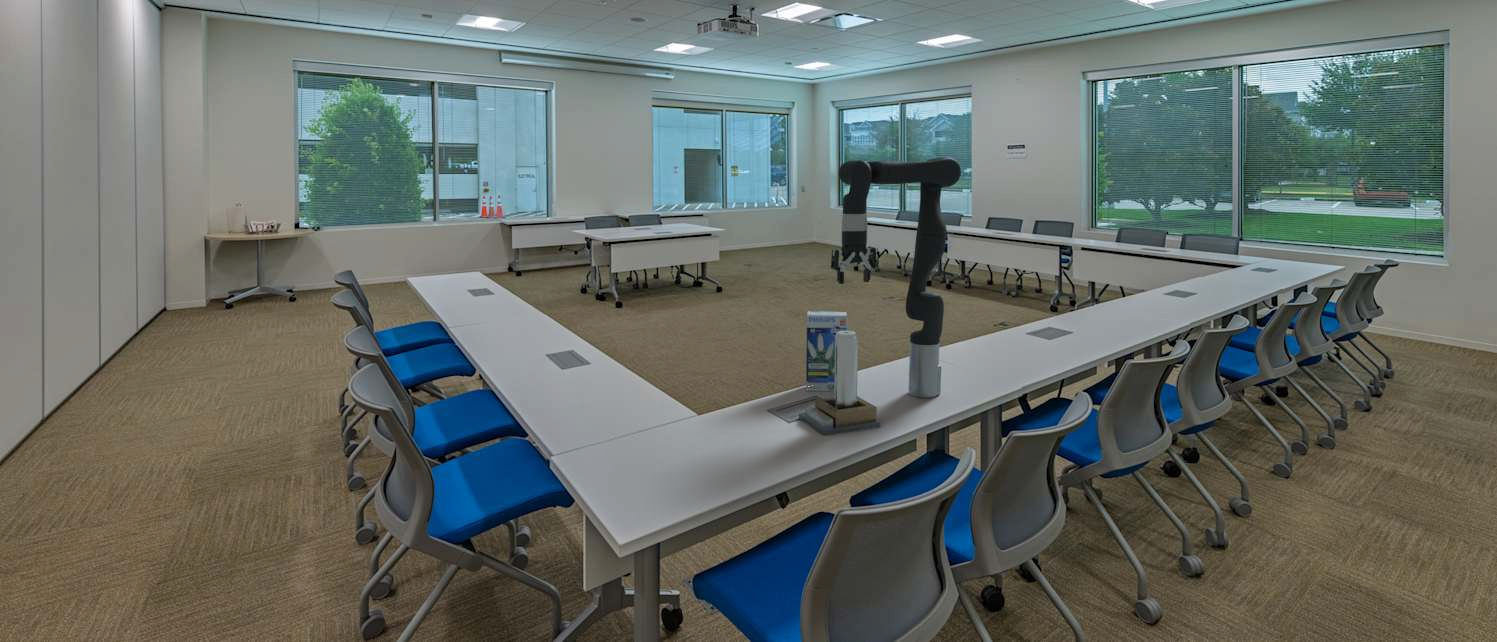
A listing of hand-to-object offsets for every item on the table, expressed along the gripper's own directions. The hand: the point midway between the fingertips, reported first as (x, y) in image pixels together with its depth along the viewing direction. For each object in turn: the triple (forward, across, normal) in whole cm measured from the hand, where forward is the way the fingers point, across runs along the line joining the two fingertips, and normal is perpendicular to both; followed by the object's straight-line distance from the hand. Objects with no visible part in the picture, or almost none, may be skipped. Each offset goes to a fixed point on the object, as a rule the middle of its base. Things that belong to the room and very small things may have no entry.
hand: (853, 282), depth 221 cm
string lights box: (+38, 0, -18) cm, 42 cm away
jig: (+38, +12, +14) cm, 42 cm away
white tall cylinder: (+37, +10, +14) cm, 41 cm away
